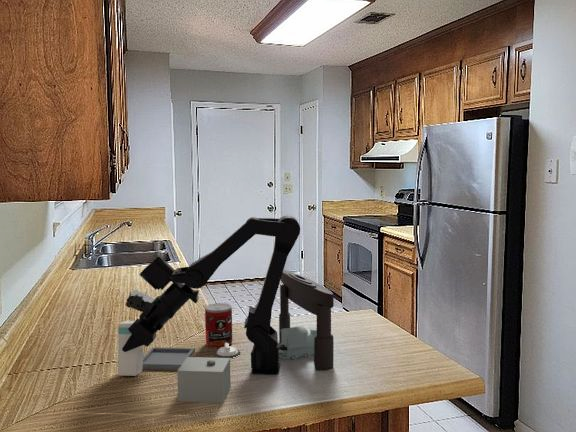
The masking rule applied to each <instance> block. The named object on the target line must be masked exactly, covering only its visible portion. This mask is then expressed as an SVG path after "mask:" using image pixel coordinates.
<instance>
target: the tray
mask: <svg viewBox="0 0 576 432" xmlns="http://www.w3.org/2000/svg"><path fill="white" fill-rule="evenodd" d="M194 353H196V348H195V347H167V346H166V347H162V346H160V347H156V346H154V347H151V348H150V349H149V350H148V351H147V352H146V353H144V354H143V370H157V371H158V370H159V371H160V370H163V371H164V370H165V371H166V370H167V371H168V370H170V371H177V370H178V369H179V368H180V366H181V365H182V364H183V362H184V361H185V360H186V358H187V357H193V356H194V355H195V354H194Z"/></svg>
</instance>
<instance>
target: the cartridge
mask: <svg viewBox="0 0 576 432" xmlns="http://www.w3.org/2000/svg"><path fill="white" fill-rule="evenodd" d="M135 321H136V320H125V321H124V320H123V321H122V322H119V323H118V328H117V329H118V330H117V331H118V339H117V341H118V346H117V347H118V348H117V349H118V350H117V352H118V353H117V354H118V355H117V356H118V357H117V376H127V377H129V376H134V377H136V376H139V374H140V373H142V372H143V370H144V369H143V356H144V345H142V346H139V347H137V348H134V349H132V350H129V351H127V352H124V351H123V350H122V348H123V347H124V345H125V343H126V342H127V340H128V339H129V337H130V336H131V334H132V333H131V332H129V330H128V328H129V327H130V326H131V325H132V324H133V323H134V322H135Z"/></svg>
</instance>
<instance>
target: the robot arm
mask: <svg viewBox="0 0 576 432" xmlns="http://www.w3.org/2000/svg"><path fill="white" fill-rule="evenodd" d="M300 234H301V225H300V224H299V222H298V219H296V217H295V216H292V215H289V214H288V215H287V214H286V215H283V216H281V217H279V218H275V217H272V218H271V217H270V218H269V217H256V216H251V217H249V218H248V219H247V220H246V221H245V222H244V223H243V224H242V225H241V226H240V227H238V229H237V230H235V231H234V232H233V233H232V234H231V235H229V236H228V237H227V238H226V239H225V240H224V241H223V242H221V243H220V244H219V245H218V246H217V247H216V248H215V249H213V250H212V251H211V252H209V253H207V254H206V255H204V256H201V257H200V258H198V259H197V260H195V261H194V262H192V263H190V264H189V265H188V266H182V267H177V268H173V266H171V265H170V264H169V263H168V262H167V261H166V259H165V258H164V257H163V256H162V255H158V256H157V257H155V259H154V260H153V261H152V262H151V263H149V264H148V265H146V266H145V268H144V269H142V271H141V272H140V273H139V274H138V275H139V277H141V278H142V279H143V280H144V281H145V282H146V283H147V284H149V286H150V287H151V288H153V289H154V290H155V291H156V290H158V291H159V290H161V291H163V290H164V289H165V287H167V286H168V285H169V284H170V282H171V284H170V285H169V287H167V289H165V290H164V291H163V292H162V293H161V294H160V295H157V296H156V297H155V298H153V297H152V296H151V295H148V294H146V293H143V292H141V291H140V290H135V289H134V290H132V291H131V292H130V293H129V296H128V297H127V298H126V302H125V304H124V305H125V307H127V308H129V309H130V308H131V309H133V310H135V311H139V312H141V313H140V314H139V317H138V318H136V320H134V321H135V322H134V323H133V324H132V325H131V326H130V327H129V328H128V330H129V332H131V333H132V334H131V336H130V337H129V339H128V340H127V342H126V343H125V345H124V347H123V348H122V350H123V351H124V352H127V351H129V350H132V349H134V348H137V347H139V346H142V345H143V346H144V347H147V348H149V346H150V345H151V344H152V343H153V342H154V341H155V339H156V337H157V332H158V331H159V332H160V331H161V330H162V329H163V327H164V325H166V324H167V323H168V322H169V321H170V319H171V320H172V318H174V316H175V315H176V314H177V312H179V311H180V309H181V308H182V307H183V306H184V305H185V304H187V302H188V301H189V300H191V302H193V304H197V303H198V302H199V300H200V298H199V294H200V290H199V289H202V288H203V287H204V286H205V285H206V283H208V281H209V280H210V279H211V277H212V276H213V275H214V274H215V273H216V271H217V270H218V268H219V267H220V266H221V265H222V264H223V263H224V262H225V261H227V259H229V258H230V257H231V256H233V254H234V253H235V252H238V250H239V249H240V248H242V246H244V245H245V244H246V243H247V242H249V240H251V239H252V238H253V237H254V236H256V235H259V236H260V235H261V236H265V237H266V236H268V237H274V241H273V242H274V244H273V250H272V254H271V257H270V260H269V261H270V262H269V265H268V268H267V271H266V275H265V277H264V281H263V285H262V289H261V292H260V294H259V298H258V301H257V303H256V305H255V306H254V307H253V306H251V305H249V307H248V314H247V316H246V317H245V320H244V326H243V327H244V329H246V330H245V336H246V338H247V340H249V342H250V343H251V344H252V343H253V346H252V350H251V352H250V368H251V369H252V370H251V373H252V374H253V375H255V374H256V375H257V374H260V375H262V374H263V375H265V374H266V375H277V374H279V372H280V368H281V362H280V358H279V353H280V350H279V346H280V343H279V340H278V339H279V338H278V336H279V335H278V331H277V330H276V329H274V328H273V326H272V325H271V322H272V311H273V306H274V302H275V299H276V297H277V293H278V289H279V287H280V282H281V276H282V273H283V270H285V266H286V263H287V260H288V259H287V258H288V256H289V254H290V253H291V250H292V249H293V247H294V246H295V244H296V242H297V239H298V237H300Z"/></svg>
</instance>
